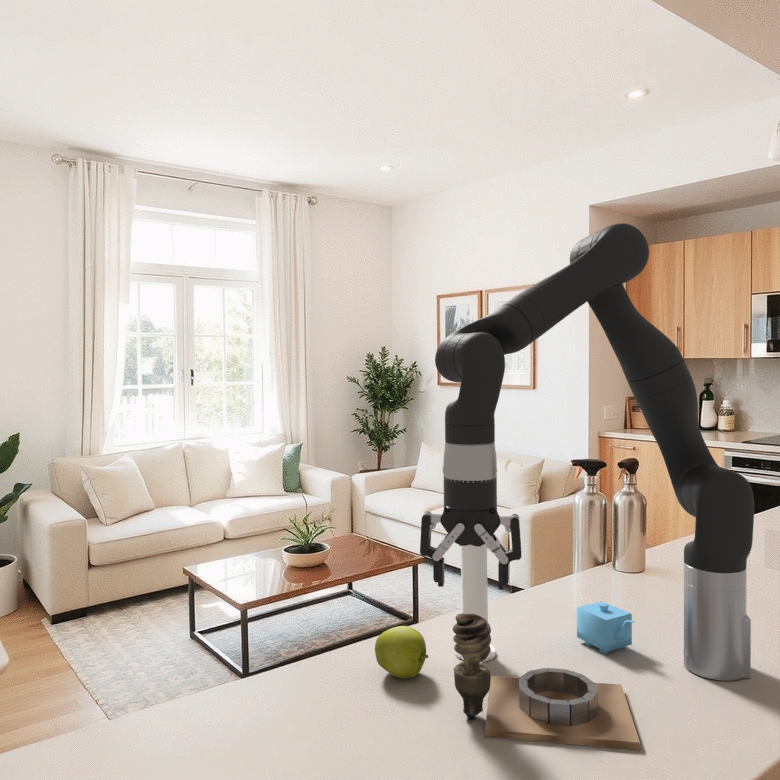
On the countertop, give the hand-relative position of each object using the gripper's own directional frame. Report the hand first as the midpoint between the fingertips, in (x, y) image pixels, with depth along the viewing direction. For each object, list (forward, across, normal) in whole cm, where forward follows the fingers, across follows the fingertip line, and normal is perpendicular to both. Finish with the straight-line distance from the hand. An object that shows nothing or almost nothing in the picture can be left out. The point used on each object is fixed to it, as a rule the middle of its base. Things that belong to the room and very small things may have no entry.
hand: (470, 586), depth 96 cm
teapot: (+19, -22, -27) cm, 40 cm away
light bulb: (+19, 0, 0) cm, 19 cm away
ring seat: (+19, -12, -3) cm, 23 cm away
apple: (+19, +12, -11) cm, 25 cm away
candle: (+19, +1, -21) cm, 28 cm away
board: (+19, -12, -3) cm, 23 cm away
